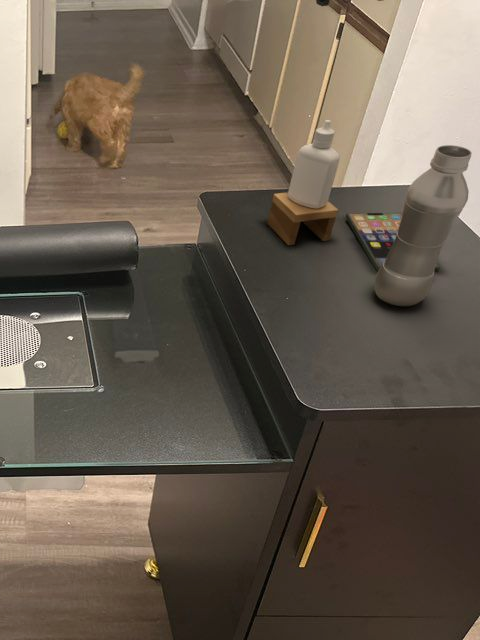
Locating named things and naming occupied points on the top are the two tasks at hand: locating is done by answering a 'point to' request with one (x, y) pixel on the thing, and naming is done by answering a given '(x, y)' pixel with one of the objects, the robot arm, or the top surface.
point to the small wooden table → (300, 218)
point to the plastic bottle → (424, 228)
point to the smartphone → (376, 234)
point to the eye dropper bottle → (315, 170)
